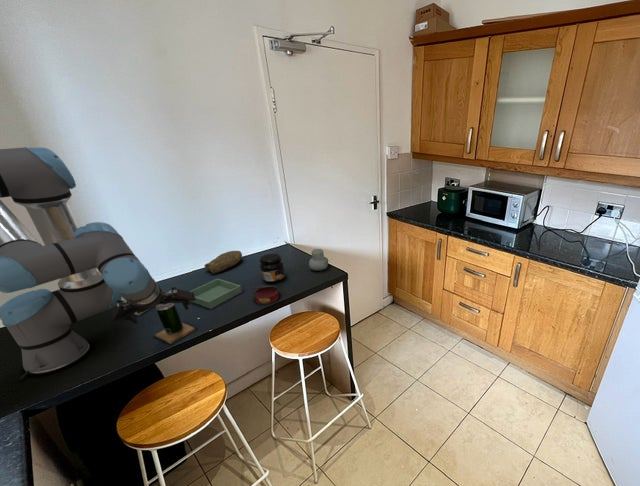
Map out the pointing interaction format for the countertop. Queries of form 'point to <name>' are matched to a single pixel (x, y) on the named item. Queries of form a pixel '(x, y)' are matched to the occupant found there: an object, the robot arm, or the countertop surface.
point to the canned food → (266, 294)
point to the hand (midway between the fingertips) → (161, 312)
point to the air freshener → (318, 260)
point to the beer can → (169, 318)
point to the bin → (215, 293)
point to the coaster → (173, 338)
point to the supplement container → (272, 268)
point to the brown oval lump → (224, 261)
